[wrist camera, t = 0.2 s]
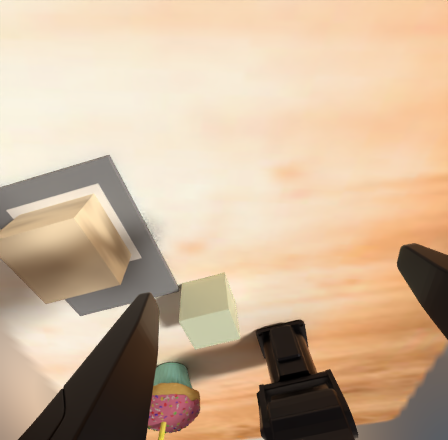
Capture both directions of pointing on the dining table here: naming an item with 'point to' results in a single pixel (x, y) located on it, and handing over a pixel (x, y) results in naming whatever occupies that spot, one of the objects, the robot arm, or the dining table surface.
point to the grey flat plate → (120, 217)
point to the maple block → (65, 249)
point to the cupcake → (172, 400)
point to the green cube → (208, 311)
